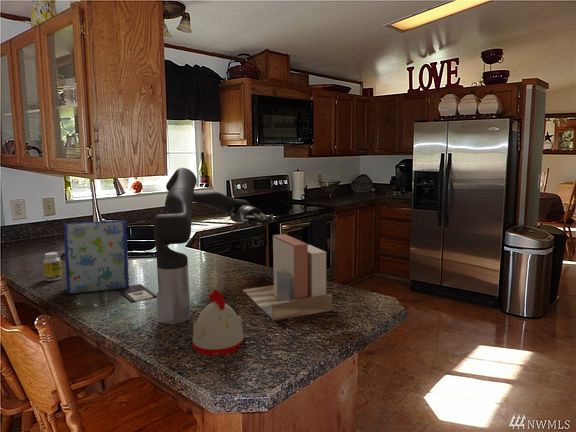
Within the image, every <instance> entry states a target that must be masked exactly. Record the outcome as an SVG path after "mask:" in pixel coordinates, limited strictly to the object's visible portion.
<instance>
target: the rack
mask: <svg viewBox="0 0 576 432" xmlns="http://www.w3.org/2000/svg"><path fill="white" fill-rule="evenodd" d="M242 291H243V292H244V293H245V294H246V295H247V296H248V297H249V298H250V299H251V300H252V301H253V302H254V303H255V305H256V304H257V306H259V308H261V309H262V307H263V306H269V305H272V318H271V319H272V320H273V321H280V320H284V319H291V318H296V317H302V316H308V315H312V314H313V315H314V314H319V313H324V312H325V313H326V312H331V311H333V295H332V294H331V293H328V294H327V293H326V295H320V296H313V297H307V298H301V299H294V300H288V301H282V302H277V298H275V297H274V284H273V285H268V286H267V285H266V286H261V287H252V288H245V289H242Z"/></svg>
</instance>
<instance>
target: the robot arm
mask: <svg viewBox="0 0 576 432" xmlns="http://www.w3.org/2000/svg"><path fill="white" fill-rule="evenodd" d="M197 183H198V178H197V176H196V175H195V173H194V172H193V171H192V170H191V169H189V168H186V167H180V168H177V169H176V170H175V171H174V173H173V174H172V175H171V177H170V178H169V180H168V182H167V183H166V185H165V188H166V190H167V195H166V197H165V203H164V208H165V211H166V212H167V213H162V214H157V215H155V217H154V220H153V235H154V244H155V253H156V256H155V257H156V273H157V287H158V289H157V290H158V292H156V296H157V297H156V306H157V308H156V310H157V321H158V322H157V323H160V324H166V325H172V326H175V325H177V324H181V323H185V322H187V321H189V320H190V319H191V300H190V297H191V296H190V282H189V261H188V259H189V258H188V256H187V255H186V254H185V253H183V252H179V251H175V250H174V249H171V248H170V247H169V246H168V245H181V244H185V243H187V242H189V240H190V238H191V234H192V216H191V215H192V210H193V203H195V204H200V205H203V206H206V207H210V208H213V209H215V210H216V211H217V210H218V211H219V212H220V213H221V212H222V213H224V214H228V213H230V214H229V218H230V220H231V221H233V223H237V224H246V225H249V226H250V227H259V226H260V225H264V226H265V225H266V226H267V225H269V224H271V223H272V222H274V219H275V218H274V217H275V216H274V214H269V215H267V214H264V212H263V211H262V210H261V209H260V208H257V207H254V206H253V205H251V204H250V202H249V201H247V200H245V199H241V198H240V199H239V198H232V197H230V196H227V195H225V194H223V193H221V192H218V191H205V192H202V191H201V192H195V187H196V186H197Z"/></svg>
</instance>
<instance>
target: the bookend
mask: <svg viewBox="0 0 576 432" xmlns="http://www.w3.org/2000/svg"><path fill="white" fill-rule="evenodd" d="M288 300H291V278H290V277H289V276H287V275H285V274H284V273H282V272H281V271H279V270H277V302H282V301H288ZM261 309H262V311H263V312H265V314H266V315H268V317H269V318H271V319H272V305H269V306H263V307H262V308H261Z"/></svg>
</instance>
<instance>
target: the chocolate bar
mask: <svg viewBox="0 0 576 432" xmlns="http://www.w3.org/2000/svg"><path fill="white" fill-rule="evenodd" d="M116 290H117V291H118V293H120V294H121V295H122V296H123V297H124V298H126V299H127V300H128V301H129V302H130V303H131V304H132V303H137V302H141V301H145V300H150V299H151V300H152V299H154V298H156V299H157V294H155V293H154V292H152V291H151V290H150V289H148V288H147V287H146V286H144V285H143V284H141V283H140V284H139V283H138V284H134V285H129V288H121V289H116Z"/></svg>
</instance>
